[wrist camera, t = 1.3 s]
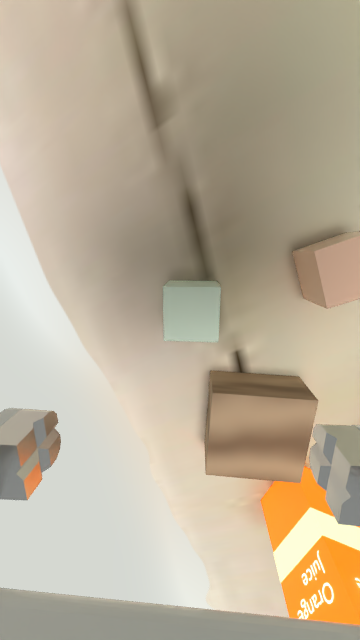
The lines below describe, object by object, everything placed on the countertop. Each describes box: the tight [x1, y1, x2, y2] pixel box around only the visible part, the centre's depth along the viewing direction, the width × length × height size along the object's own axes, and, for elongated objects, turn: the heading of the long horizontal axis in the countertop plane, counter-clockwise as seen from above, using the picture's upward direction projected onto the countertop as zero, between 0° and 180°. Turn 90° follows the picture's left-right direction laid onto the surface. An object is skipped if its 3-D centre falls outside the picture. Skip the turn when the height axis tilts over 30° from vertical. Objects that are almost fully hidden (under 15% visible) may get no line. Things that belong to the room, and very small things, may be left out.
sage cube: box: [163, 280, 221, 342], centre depth 24 cm, size 5×5×5 cm
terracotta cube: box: [292, 231, 360, 309], centre depth 22 cm, size 5×5×5 cm
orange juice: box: [261, 467, 360, 625], centre depth 23 cm, size 8×9×20 cm
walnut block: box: [205, 371, 318, 483], centre depth 28 cm, size 10×10×5 cm
